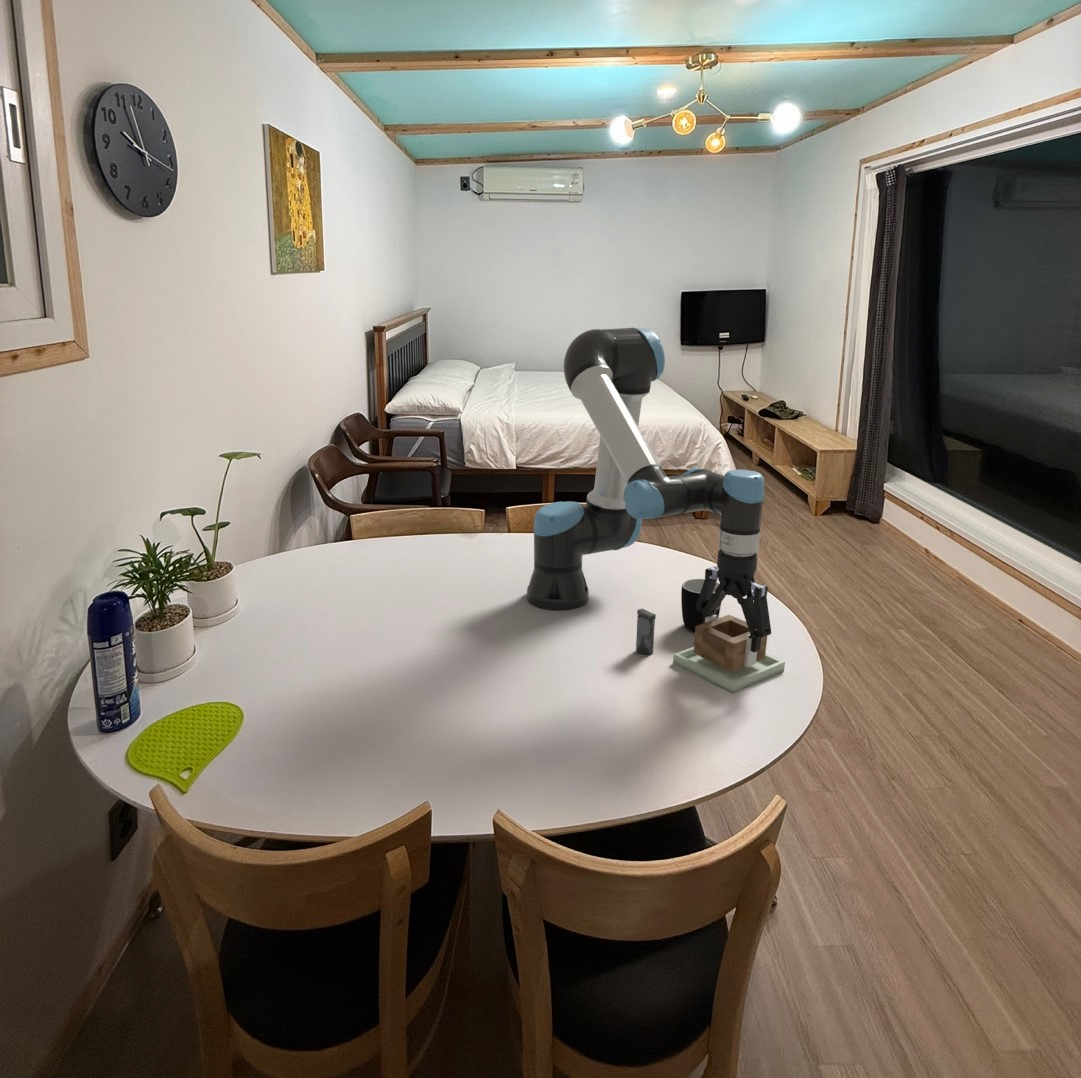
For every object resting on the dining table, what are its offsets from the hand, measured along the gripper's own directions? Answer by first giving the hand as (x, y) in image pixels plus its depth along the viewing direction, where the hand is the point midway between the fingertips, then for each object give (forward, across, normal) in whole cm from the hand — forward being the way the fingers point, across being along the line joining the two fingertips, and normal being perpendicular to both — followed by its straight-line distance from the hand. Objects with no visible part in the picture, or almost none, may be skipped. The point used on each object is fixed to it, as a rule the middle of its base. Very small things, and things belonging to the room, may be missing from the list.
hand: (728, 654), depth 162 cm
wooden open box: (0, 0, 0) cm, 0 cm away
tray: (+3, 0, 0) cm, 3 cm away
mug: (+3, -17, +11) cm, 20 cm away
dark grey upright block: (+3, -15, -9) cm, 18 cm away
